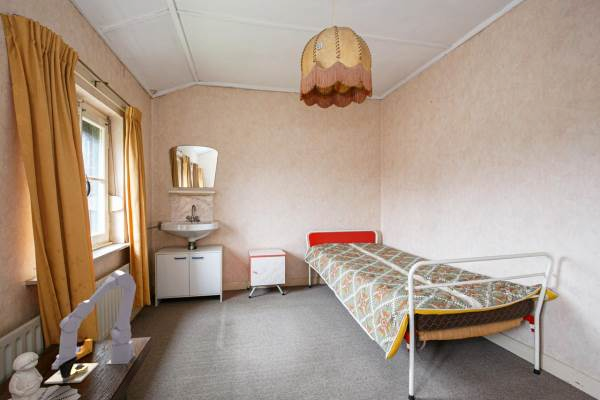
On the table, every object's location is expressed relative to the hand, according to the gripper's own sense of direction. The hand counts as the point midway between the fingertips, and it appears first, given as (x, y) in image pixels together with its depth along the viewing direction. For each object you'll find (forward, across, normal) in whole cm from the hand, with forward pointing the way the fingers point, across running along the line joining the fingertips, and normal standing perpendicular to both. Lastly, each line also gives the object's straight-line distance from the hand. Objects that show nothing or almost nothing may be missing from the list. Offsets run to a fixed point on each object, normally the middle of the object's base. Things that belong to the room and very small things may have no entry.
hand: (65, 376), depth 116 cm
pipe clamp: (+2, -19, -7) cm, 20 cm away
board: (+2, -5, 0) cm, 5 cm away
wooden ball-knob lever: (0, -2, +2) cm, 3 cm away
